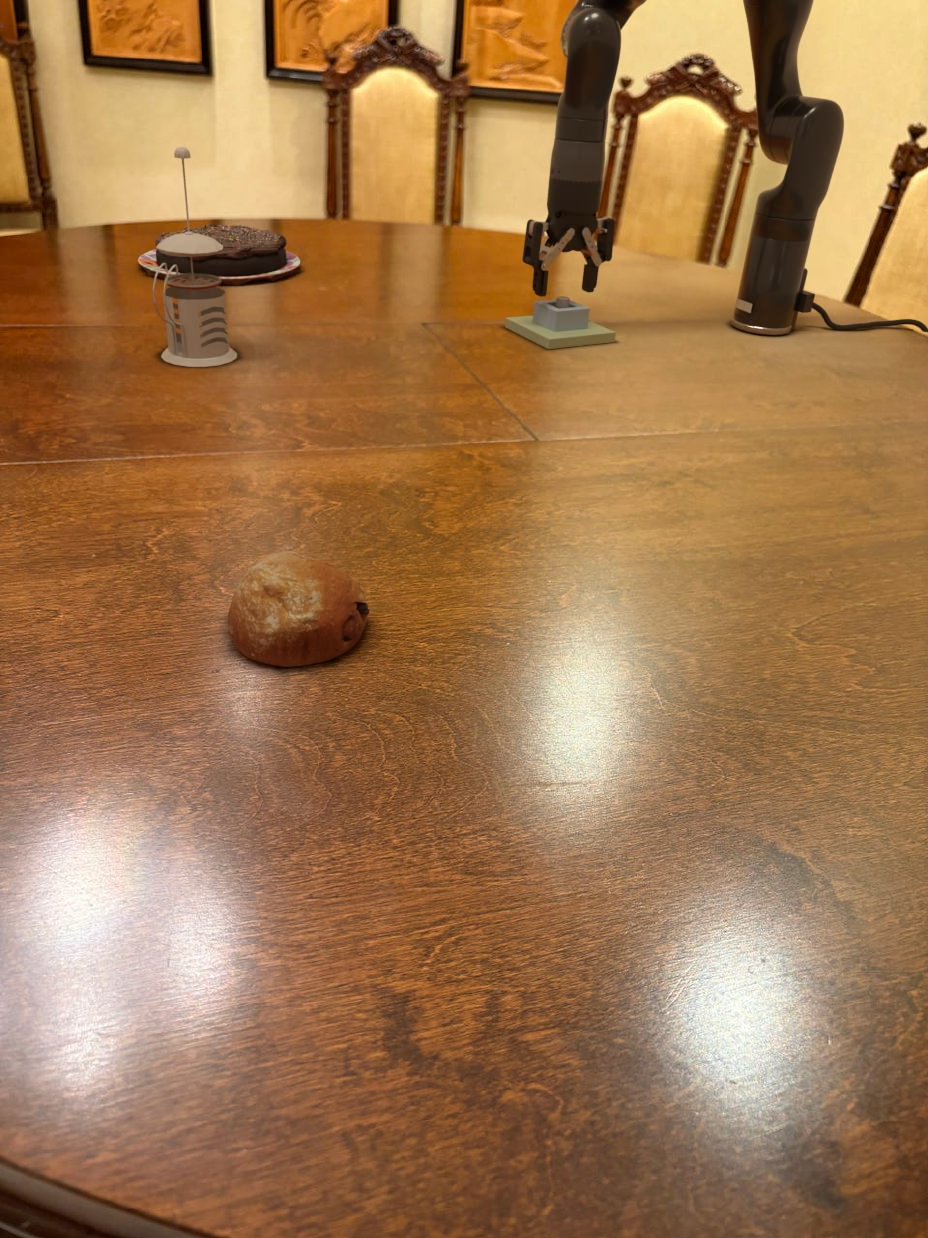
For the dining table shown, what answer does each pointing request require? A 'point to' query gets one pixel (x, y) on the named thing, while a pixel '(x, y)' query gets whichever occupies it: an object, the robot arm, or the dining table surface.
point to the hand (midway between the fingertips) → (564, 293)
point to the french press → (193, 301)
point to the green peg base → (560, 338)
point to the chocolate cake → (230, 256)
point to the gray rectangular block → (560, 316)
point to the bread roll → (296, 611)
